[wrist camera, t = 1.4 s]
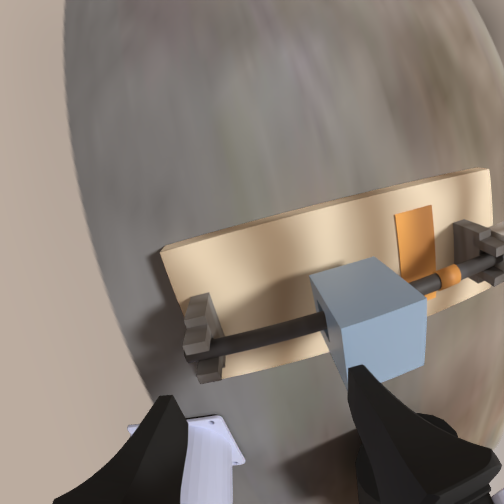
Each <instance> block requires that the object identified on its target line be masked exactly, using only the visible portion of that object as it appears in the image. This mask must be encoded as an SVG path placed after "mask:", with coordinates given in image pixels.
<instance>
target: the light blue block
mask: <svg viewBox="0 0 504 504" xmlns="http://www.w3.org/2000/svg"><path fill="white" fill-rule="evenodd" d="M309 278H310V282H311V287H312V292H313V297H314V302H315V307H316V312H320V311H324V313H325V317H326V322H327V328H328V329H325V330H322V331H320V332H321V334H322V336H323V338H324V341H325V343H326V345H327V347H328V349H329V351H330V353H331V356H332V358H333V360H334V362H335V364H336V367H337V369H338V371H339V373H340V375H341V378H342V380H343V382H344V384H345V386H346V389H347V391H348V368H350V367H354V366H357V365H361V364H363V365H365V366H366V368H367V369H368V370H369V371H370V372H371V373H372V374H373V375H374V376H375V377H376V379H377V380H378V381H379V382H380V383H381V382H384V381H386V380H389V379H391V378H394V377H397V376H399V375H401V374H404V373H406V372H409V371H411V370H413V369H416V368H418V367H420V366H422V365H424V359H425V345H426V325H427V298H426V297H425V296H424V295H422V294H421V293H420V292H419V291H418V290H416V289H415V288H414V287H413V286H411V285H410V284H409V283H408V282H406V281H405V280H404V279H403V278H401V277H400V276H399V275H398V274H396V273H395V272H394V271H393V270H391V269H390V268H389V267H387V266H386V265H385V264H384V263H382V262H381V261H380V260H378V259H377V258H376V257H374V256H373V257H370V258H366V259H363V260H360V261H356V262H353V263H350V264H346V265H343V266H339V267H336V268H332V269H329V270H325V271H322V272H318V273H315V274H311V275H309Z"/></svg>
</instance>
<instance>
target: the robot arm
mask: <svg viewBox="0 0 504 504" xmlns="http://www.w3.org/2000/svg"><path fill="white" fill-rule="evenodd" d="M348 403H349V407H350V411H351V414H352V418H353V421H354V423H355V426H356V428H357V431H358V433H359V436H360V438H361V441H362V443H363V445H364V448H365V450H366V453H367V455H368V458H369V460H370V463H371V466H372V469H373V473H374V477H375V480H376V484H377V488H378V493H379V497H380V501H381V504H504V488H503V489H502V490H500V491H499V492H497V493H496V494H495V495H493V496H492V497H491V496H490V494H489V492H490V491H491V487H490V485H489V483H490V481H491V480H492V479H493V478H494V477H495V476H496V475H497V474H498V472H499V471H500V469H501V466H502V465H501V463H500V461H499V459H498V458H497V456H496V455H495V453H494V452H493V451H492V449H490V448H487V447H483V446H480V445H476V444H473V443H470V442H468V441H465V440H463V439H460V438H458V437H456V436H454V435H452V434H450V433H448V432H446V431H444V430H442V429H440V428H438V427H436V426H434V425H433V424H431V423H429V422H428V421H426V420H425V419H423V418H422V417H420V416H419V415H417V414H416V413H415V412H413V411H412V410H411V409H409V408H408V407H407V406H406V405H404V404H403V403H402V402H401V401H400V400H399V399H397V398H396V397H395V396H394V395H393V394H392V393H391V392H390V391H389V390H387V389H386V388H385V387H384V386H383V385H382V384H381V383H380V382H379V381H378V380H377V379H376V377H375V376H374V375H373V374H372V373H371V372H370V371H369V370H368V369H367V368H366V366H365V365H363V364H361V365H357V366H354V367H350V368H348ZM127 429H128V431H129V433H130V434H131V436H130V438H129V440H128V441H127V442H126V443H125V444H124V446H123V447H122V448H121V449H120V450H119V451H118V453H117V454H116V455H115V456H114V457H113V458H112V459H111V460H110V461H109V462H108V463H107V464H106V465H105V466H104V467H102V468H101V469H100V470H99V471H98V472H96V473H95V474H94V475H93V476H92V477H90V478H89V479H88V480H86V481H85V482H84V483H82V484H81V485H79V486H78V487H76V488H74V489H73V490H71V491H69V492H68V493H66V494H64V495H62V496H60V497H58V498H56V499H54V501H53V504H233V483H232V466H233V465H240V464H244V463H245V458H244V456H243V455H242V453H241V451H240V449H239V448H238V446H237V444H236V442H235V440H234V438H233V437H232V435H231V433H230V431H229V429H228V427H227V425H226V424H225V422H224V420H223V418H222V417H221V416H218V415H215V416H209V417H202V418H195V419H188V420H186V419H185V417H184V415H183V413H182V411H181V410H180V408H179V406H178V404H177V402H176V400H175V398H174V396H173V395H166V396H159V397H158V399H157V400H156V402H155V403H154V405H153V406H152V408H151V409H150V410H149V412H148V413H147V415H146V416H145V418H144V419H143V421H142V422H141V423H140V424H135V425H128V427H127Z"/></svg>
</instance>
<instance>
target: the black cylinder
mask: <svg viewBox="0 0 504 504" xmlns="http://www.w3.org/2000/svg"><path fill="white" fill-rule="evenodd" d="M416 414H417V415H419V416H420V417H422V418H423V419H425V420H426V421H428V422H429V423H431V424H433V425H434V426H436V427H438V428H440V429H442V430H444V431H446V432H448V433H450V434H452V435H454V436H456V437H458V436H457V433H456V431H455V430H454V429H453V428H452V427H451V426H449V425H448V424H447V423H446V422H445V421H444V420H442V419H440V418H438V417H435V416H433V415H427V414H421V413H416ZM356 473H357V484H358V497H359V504H381V501H380V497H379V493H378V488H377V484H376V480H375V477H374V473H373V469H372V466H371V463H370V460H369V458H368V455H367V453H366V450H365V448H364V445H363V443H362V445H361V447H360V450H359V453H358V457H357V460H356Z"/></svg>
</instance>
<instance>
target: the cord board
mask: <svg viewBox="0 0 504 504" xmlns="http://www.w3.org/2000/svg"><path fill="white" fill-rule="evenodd" d="M160 255H161V258H162V260H163V263H164V266H165V269H166V271H167V274H168V277H169V279H170V282H171V285H172V287H173V290H174V293H175V295H176V298H177V300H178V303H179V305H180V308H181V310H182V313H183V315H184V323H185V325H186V328H187V330H186V333H185V337H184V341H183V345H182V346H183V349H184V355H185V358H186V360H187V362H188V363H191V362H196V361H199V362H198V368H197V375H196V376H197V378H198V381H199V383H200V384H204V383H209V382H215V381H220V380H222V379H224V378H228V377H233V376H238V375H243V374H247V373H251V372H256V371H260V370H264V369H268V368H272V367H276V366H280V365H284V364H288V363H292V362H296V361H299V360H303V359H306V358H310V357H313V356H317V355H320V354H324V353H327V352H330V351H329V349H328V347H327V345H326V343H325V341H324V338H323V336H322V334H321V332H320V331H322V330H325V329H328V328H327V322H326V317H325V313H324V311H320V312H316V307H315V302H314V297H313V292H312V287H311V282H310V278H309V275H311V274H315V273H318V272H322V271H325V270H329V269H332V268H336V267H339V266H343V265H346V264H350V263H353V262H356V261H360V260H363V259H366V258H370V257H373V256H374V257H376V258H377V259H378V260H380V261H381V262H382V263H384V264H385V265H386V266H387V267H389V268H390V269H391V270H393V271H394V272H395V273H396V274H398V275H399V276H400V277H401V278H403V279H404V280H405V281H406V282H408V283H409V284H410V285H411V286H413V287H414V288H415V289H416V290H418V291H419V292H420V293H421V294H422V295H424V296H425V297H426V298H427V317H428V316H430V315H432V314H435V313H437V312H439V311H442V310H444V309H446V308H448V307H451V306H453V305H455V304H457V303H459V302H462V301H464V300H466V299H468V298H470V297H472V296H474V295H476V294H478V293H480V292H482V291H485V290H487V289H488V288H490V287H491V285H492V286H494V287H495V286H496V285H498V284H500V283H502V282H504V221H503V222H501V223H498V224H495V225H493V214H492V195H491V182H490V172H489V169H485V168H478V167H477V168H472V169H467V170H462V171H457V172H453V173H448V174H443V175H439V176H434V177H430V178H425V179H421V180H416V181H412V182H407V183H403V184H399V185H394V186H390V187H386V188H382V189H377V190H373V191H369V192H365V193H361V194H357V195H352V196H348V197H344V198H340V199H336V200H332V201H328V202H324V203H320V204H316V205H312V206H308V207H304V208H301V209H297V210H293V211H289V212H285V213H281V214H278V215H274V216H270V217H266V218H262V219H259V220H255V221H251V222H248V223H244V224H240V225H237V226H233V227H229V228H226V229H222V230H218V231H215V232H211V233H208V234H204V235H201V236H197V237H194V238H190V239H187V240H183V241H180V242H176V243H173V244H169V245H166V246H165V247H164V248H163V249H162V250H161V252H160Z"/></svg>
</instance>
